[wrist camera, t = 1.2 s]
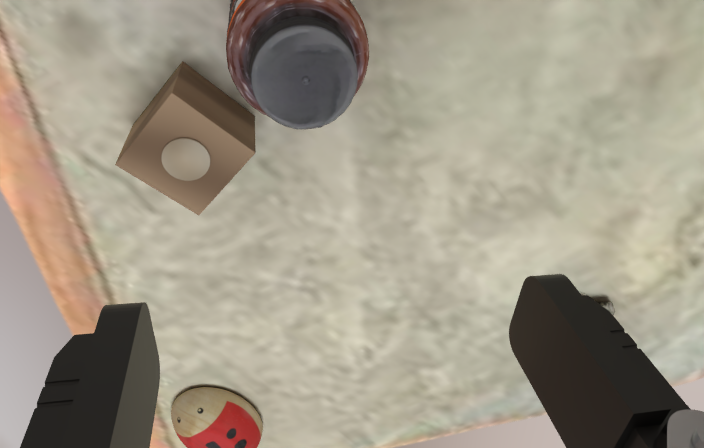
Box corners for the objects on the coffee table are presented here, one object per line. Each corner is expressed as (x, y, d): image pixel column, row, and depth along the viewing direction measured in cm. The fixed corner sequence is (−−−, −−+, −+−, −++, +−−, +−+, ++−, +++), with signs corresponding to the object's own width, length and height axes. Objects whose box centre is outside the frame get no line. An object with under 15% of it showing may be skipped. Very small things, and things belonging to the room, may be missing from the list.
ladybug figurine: (215, 369, 44) (213, 405, 41) (281, 423, 49) (284, 458, 46) (152, 403, 45) (145, 441, 42) (223, 452, 50) (222, 488, 47)
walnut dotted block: (182, 60, 29) (171, 94, 25) (254, 115, 31) (255, 154, 27) (133, 125, 31) (114, 166, 26) (205, 172, 33) (198, 217, 29)
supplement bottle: (212, -33, 27) (193, 23, 17) (323, -69, 26) (362, -33, 17) (255, 77, 30) (257, 171, 21) (353, 45, 30) (399, 126, 21)
